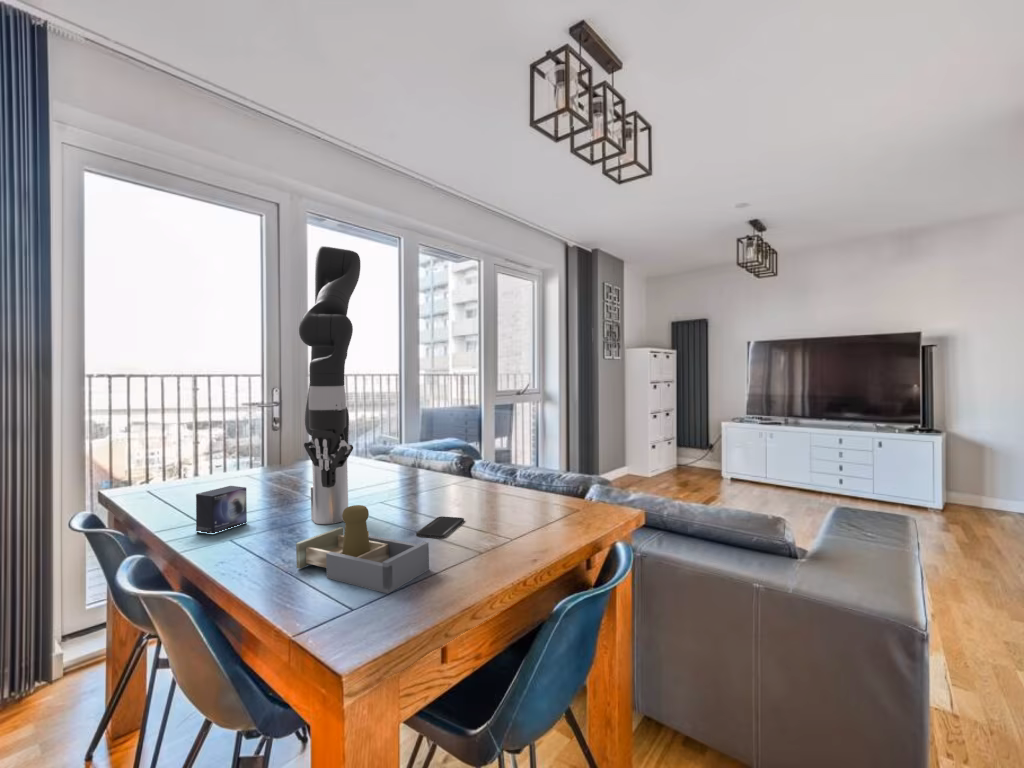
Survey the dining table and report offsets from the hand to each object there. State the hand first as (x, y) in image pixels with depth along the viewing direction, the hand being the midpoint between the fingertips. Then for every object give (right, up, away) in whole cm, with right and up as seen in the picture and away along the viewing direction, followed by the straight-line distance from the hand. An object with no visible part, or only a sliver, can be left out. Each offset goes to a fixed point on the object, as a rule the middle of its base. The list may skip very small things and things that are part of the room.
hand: (328, 486), depth 101 cm
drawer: (+5, -16, -3) cm, 17 cm away
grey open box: (+13, -16, -7) cm, 22 cm away
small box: (-38, -17, +25) cm, 49 cm away
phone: (+21, -16, +21) cm, 34 cm away
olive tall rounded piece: (+7, -14, -4) cm, 17 cm away
